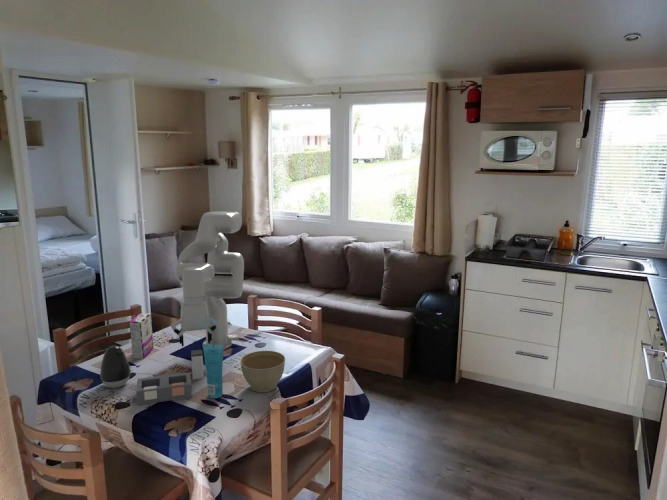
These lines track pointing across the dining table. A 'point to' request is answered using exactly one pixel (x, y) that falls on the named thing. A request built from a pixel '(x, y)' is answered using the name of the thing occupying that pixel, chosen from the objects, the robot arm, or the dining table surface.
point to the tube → (214, 369)
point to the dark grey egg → (115, 368)
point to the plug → (197, 364)
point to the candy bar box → (141, 335)
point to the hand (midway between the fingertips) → (195, 343)
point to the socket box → (163, 388)
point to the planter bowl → (263, 369)
